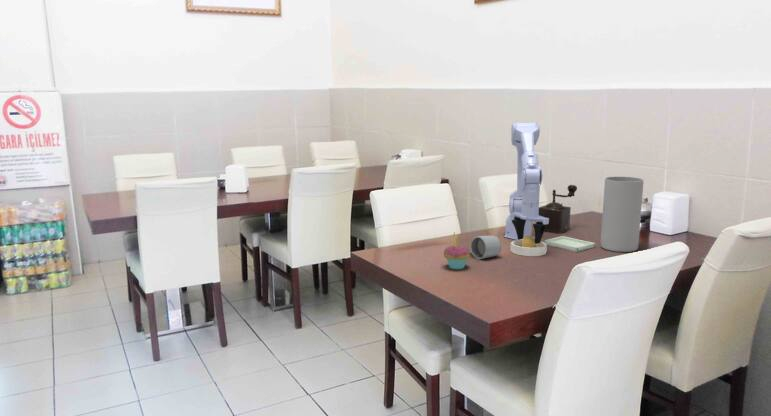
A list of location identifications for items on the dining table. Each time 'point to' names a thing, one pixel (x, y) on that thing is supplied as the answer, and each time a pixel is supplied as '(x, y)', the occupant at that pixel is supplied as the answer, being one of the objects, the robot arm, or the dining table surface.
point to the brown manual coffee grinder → (557, 213)
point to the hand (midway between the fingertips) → (528, 241)
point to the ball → (528, 242)
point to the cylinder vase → (621, 213)
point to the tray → (569, 243)
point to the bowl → (528, 249)
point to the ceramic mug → (485, 246)
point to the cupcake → (456, 255)
